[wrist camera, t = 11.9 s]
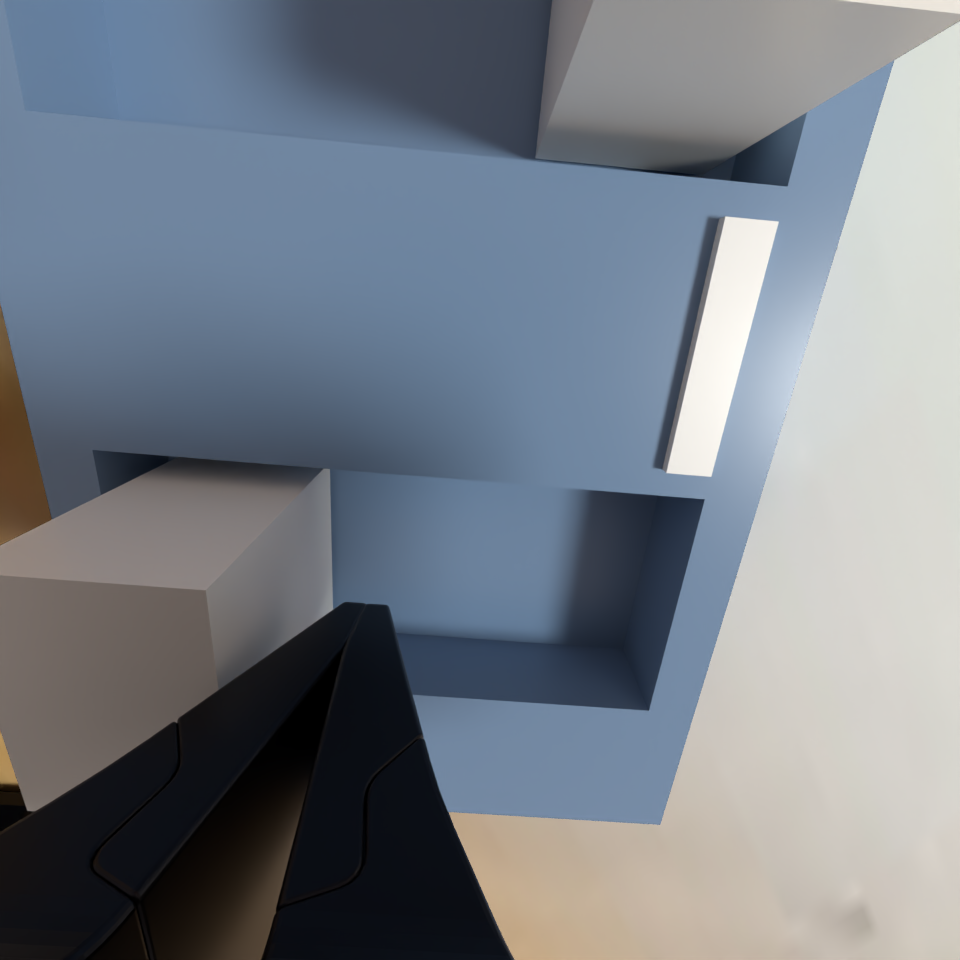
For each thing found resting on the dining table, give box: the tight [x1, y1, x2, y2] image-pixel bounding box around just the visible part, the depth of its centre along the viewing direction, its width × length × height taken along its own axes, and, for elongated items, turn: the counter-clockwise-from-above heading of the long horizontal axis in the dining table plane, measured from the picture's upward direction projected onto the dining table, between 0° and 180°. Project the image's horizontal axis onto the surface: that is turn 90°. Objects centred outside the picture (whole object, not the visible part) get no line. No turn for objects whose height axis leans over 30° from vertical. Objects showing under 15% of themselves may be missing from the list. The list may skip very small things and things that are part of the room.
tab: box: [0, 457, 333, 811], centre depth 9 cm, size 3×4×5 cm
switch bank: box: [0, 0, 894, 825], centre depth 9 cm, size 13×22×3 cm, turn 175°
